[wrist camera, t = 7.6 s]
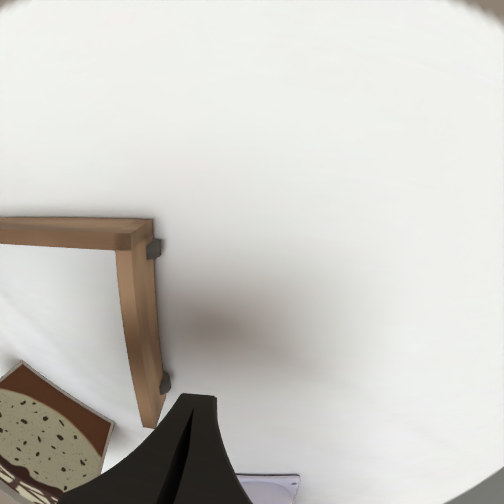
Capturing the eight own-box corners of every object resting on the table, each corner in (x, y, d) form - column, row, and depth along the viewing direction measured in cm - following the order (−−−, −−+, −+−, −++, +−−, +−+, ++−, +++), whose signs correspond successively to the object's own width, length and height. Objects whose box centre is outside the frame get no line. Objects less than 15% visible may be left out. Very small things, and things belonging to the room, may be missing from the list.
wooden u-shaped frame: (174, 392, 20) (163, 430, 16) (-27, 344, 20) (-50, 363, 16) (163, 217, 17) (141, 233, 13) (-56, 217, 16) (-86, 228, 13)
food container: (6, 388, 21) (-46, 453, 12) (9, 349, 20) (-58, 419, 10) (112, 458, 23) (81, 539, 14) (130, 430, 22) (95, 527, 12)
